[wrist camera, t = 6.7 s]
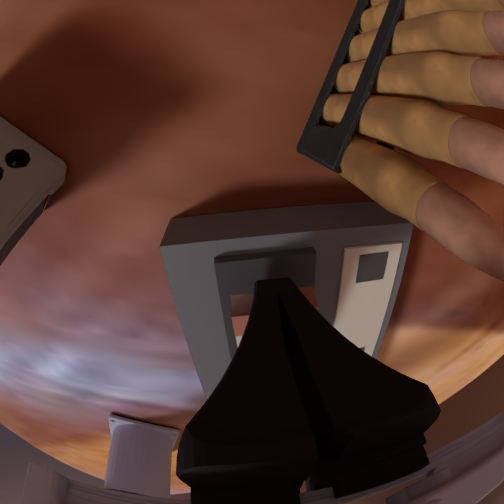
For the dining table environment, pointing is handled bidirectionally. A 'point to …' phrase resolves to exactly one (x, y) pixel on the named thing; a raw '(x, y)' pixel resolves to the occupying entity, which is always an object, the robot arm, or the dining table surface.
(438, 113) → the ammunition clip
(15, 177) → the electrical switch
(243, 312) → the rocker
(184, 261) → the switch panel
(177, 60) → the dining table surface
